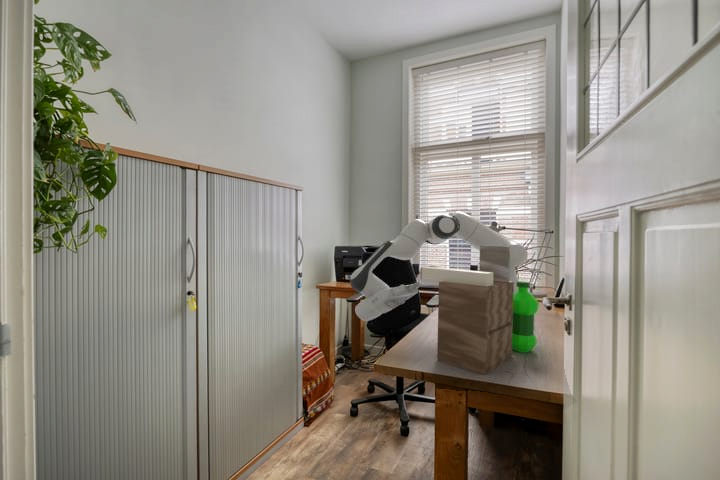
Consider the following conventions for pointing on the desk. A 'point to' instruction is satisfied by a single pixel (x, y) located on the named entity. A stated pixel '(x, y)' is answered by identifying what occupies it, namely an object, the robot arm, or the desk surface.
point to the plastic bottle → (523, 318)
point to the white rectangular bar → (457, 276)
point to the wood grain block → (478, 317)
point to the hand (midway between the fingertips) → (411, 285)
